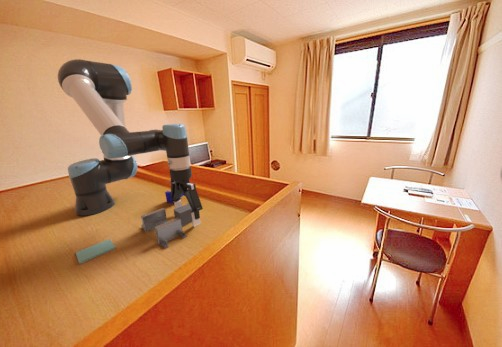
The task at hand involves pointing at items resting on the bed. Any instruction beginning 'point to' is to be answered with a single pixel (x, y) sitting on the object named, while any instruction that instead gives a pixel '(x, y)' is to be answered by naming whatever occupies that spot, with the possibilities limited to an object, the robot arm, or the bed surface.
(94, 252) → the mat
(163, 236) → the channel
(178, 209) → the grey rectangular block
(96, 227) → the bed surface
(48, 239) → the bed surface
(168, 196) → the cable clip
